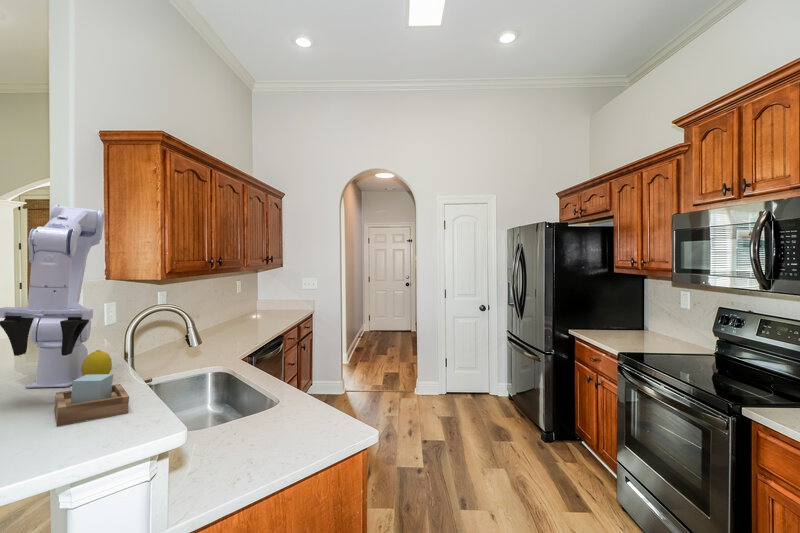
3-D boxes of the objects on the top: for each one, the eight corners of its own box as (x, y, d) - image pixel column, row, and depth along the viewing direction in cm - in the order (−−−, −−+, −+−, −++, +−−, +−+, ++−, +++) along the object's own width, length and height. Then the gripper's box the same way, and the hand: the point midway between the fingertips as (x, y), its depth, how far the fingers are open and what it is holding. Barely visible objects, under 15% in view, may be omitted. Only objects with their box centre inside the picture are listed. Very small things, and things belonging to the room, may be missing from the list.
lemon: (92, 388, 82) (95, 353, 82) (73, 385, 83) (76, 350, 83) (116, 381, 87) (119, 348, 88) (98, 379, 89) (100, 346, 89)
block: (84, 397, 71) (86, 374, 71) (111, 396, 72) (113, 374, 72) (70, 405, 66) (72, 381, 67) (99, 404, 68) (101, 380, 68)
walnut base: (54, 409, 69) (55, 392, 69) (119, 398, 76) (120, 383, 76) (56, 426, 62) (58, 407, 62) (127, 413, 69) (129, 396, 69)
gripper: (-13, 285, 66) (-20, 359, 66) (81, 289, 70) (75, 358, 69) (16, 284, 73) (10, 351, 72) (100, 287, 77) (95, 351, 76)
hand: (43, 354), depth 71 cm, fingers open, 7 cm apart
